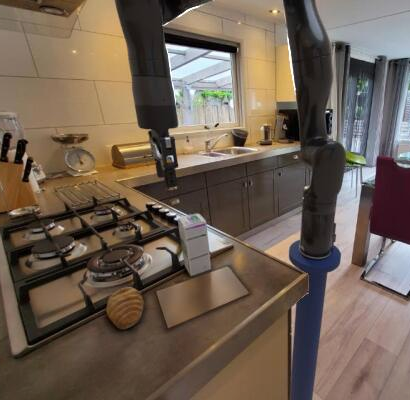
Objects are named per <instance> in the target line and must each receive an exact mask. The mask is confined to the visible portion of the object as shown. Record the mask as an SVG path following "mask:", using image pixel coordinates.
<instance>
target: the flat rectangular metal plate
mask: <svg viewBox="0 0 410 400" xmlns="http://www.w3.org/2000/svg"><path fill="white" fill-rule="evenodd" d="M155 293H156V296H157V300H158V302H159V306H160V310H161V311H162V315H163V318H164V321H165V324H166V327H167V329H168V330H169V329H171V328H174V327H175V326H178V325H180V324H183V323H185V322H187V321H189V320H193V319H194V318H196V317H199V316H201V315H204V314H206V313H208V312H210V311H213V310H215V309H217V308H219V307H222V306H224V305H227V304H229V303H231V302H233V301H236V300H238V299H240V298H243V297H245V296H247V295H249V294H250V292H249V291H248V290H247V289H246V287H245V286H244V285H243V283H242V282H241V281H240V280H239V278H238V277H237V275H235V273H234V272H233V271H232V269H231V268H230V267H229V266H228V265H227V266H225V267H222V268H221V267H220V268H219V269H216V270H214V271H210V272H207V273H205V274H201V275H199V276H196V277H193V278H190V279H188V280H184V281H182V282H179V283H176V284H174V285H171V286H167V287H164V288H162V289H159V290H157V291H155Z"/></svg>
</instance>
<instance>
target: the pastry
mask: <svg viewBox="0 0 410 400" xmlns="http://www.w3.org/2000/svg"><path fill="white" fill-rule="evenodd" d="M144 303H145V301H144V299H143V297H142V292H141V291H140V290H138V289H136V288H134V287H132V286H125V287H122V288H119V289H117V290H116V291H115V292H113V293H111V295H110V296H109V298H108V300H107V303H106V308H105V312H106V314H107V317H108V319H109V320H110V321H111V322H112V323H113V325H114V326H115V327H116V328H117V329H120V330H122V331H123V330H127V329H129V328H131V327H133V326H134V325H136V324H137V323H139V322H140V320H141V318H142V315H143V310H144Z"/></svg>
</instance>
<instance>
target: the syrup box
mask: <svg viewBox="0 0 410 400" xmlns="http://www.w3.org/2000/svg"><path fill="white" fill-rule="evenodd" d="M177 223H178V231H179V238H180V239H179V240H180V245H181V252H182V259H183V265H184V267H185V269H186V271H187V272H188V274H189V276H190V277H192V276H197V275H199V274H203V273H204V272H207V271H210V270H212V265H211V263H212V262H211V253H210V243H209V234H208V224H207V220H206V219H205V218H204V217H203V216H202V215H201V214H200V213H199V212H198V213H190V214H186V215H183V216H180V217H178V218H177ZM184 263H185V264H184Z"/></svg>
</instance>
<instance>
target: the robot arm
mask: <svg viewBox="0 0 410 400" xmlns="http://www.w3.org/2000/svg"><path fill="white" fill-rule="evenodd" d="M214 1H215V0H114V4H115V8H116V12H117V17H118V20H119V24H120V27H121V32H122V34H123V38H124V40H125V45H126V50H127V58H128V59H127V60H128V65H129V71H130V77H131V91H132V97H133V103H134V110H135V115H136V121H137V126H138V128H139V129H141V130H142V129H143V130H148V132H147V135H148V142H149V145H150V155H151V157H152V159H153V162H154V164H155V165H154V166H155V170H156V176H157V177H158V178H159V179H164V186H165V188H167V189H171V188H176V187H177V186H178V181H177V171H176V169H178V168H179V161H178V154H177V149H176V148H177V147H176V138H175V136H170V132H169V130H170V129H171V130H173V129H177V128H178V127H179V118H178V109H177V101H176V93H175V88H174V83H173V79H172V71H171V70H172V69H171V61H170V55H169V51H168V48H167V46H166V45H167V44H166V41H165V30H164V26H165V25H168V24H169V23H171V22H172V21H174V20H176V19H177V18H179V17H181V16H182V15H184V14H185V13H187V12H188V11H190V10H193V9H196V8H199V7H202V6H204V5H206V4H207V5H208V4H210V3H212V2H214ZM281 1H282V5H283V12H284V21H285V30H286V37H287V38H286V39H287V47H288V53H289V63H290V71H291V77H292V83H293V84H292V85H293V89H294V96H295V97H294V98H295V104H296V110H297V116H298V127H299V151H300V159H301V162H302V165H304V167H305V168H306V169H307V170H308V171H311V180H310V184H306V185H305V186H304V188H303V190H302V205H301V221H300V233H299V235H300V236H299V240H300V243H299V252H300V254H301V255H302V256H304V257H305V258H307V259H311V260H324V259H327V258H328V257H329V256H330V255H331V252H333V246H334V245H335V243H336V238H337V234H336V231H337V230H336V229H337V223H336V221H335V220H336V219H335V218H336V210H337V203H338V202H337V201H338V196H339V194H340V192H341V190H342V187H343V183H344V182H343V181H344V177H345V170H346V165H347V152H346V149H345V147H344V145H343V144H342V143H341V142H340V141H337V140H335V139H331V138H329V136H328V132H327V131H328V130H327V123H326V112H327V107H328V103H329V100H330V97H331V92H332V89H333V84H334V83H333V82H334V64H333V55H332V54H333V52H332V51H333V50H332V46H331V41H330V38H329V35H328V32H327V30H326V27H325V25H324V22H323V21H322V19H321V16H320V14H319V10H318V6H317V1H316V0H281Z"/></svg>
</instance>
